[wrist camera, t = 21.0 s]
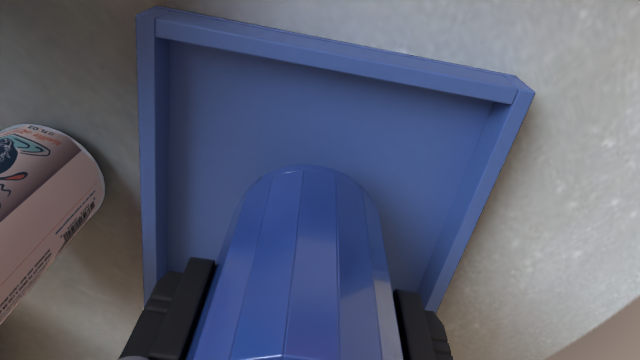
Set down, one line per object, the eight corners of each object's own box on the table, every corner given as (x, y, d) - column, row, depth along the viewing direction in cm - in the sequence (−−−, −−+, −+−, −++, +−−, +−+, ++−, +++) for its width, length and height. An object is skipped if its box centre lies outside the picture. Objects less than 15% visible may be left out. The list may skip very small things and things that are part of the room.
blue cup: (397, 178, 16) (450, 379, 9) (361, 291, 18) (379, 511, 11) (241, 151, 15) (165, 338, 8) (229, 270, 18) (164, 486, 11)
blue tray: (515, 75, 16) (536, 92, 14) (413, 320, 23) (419, 351, 21) (156, 5, 15) (134, 14, 13) (158, 281, 22) (143, 310, 20)
